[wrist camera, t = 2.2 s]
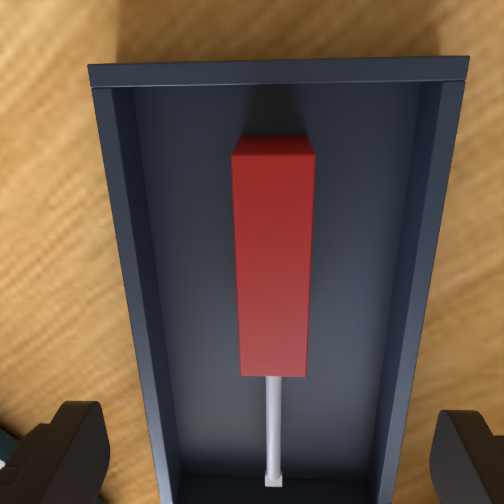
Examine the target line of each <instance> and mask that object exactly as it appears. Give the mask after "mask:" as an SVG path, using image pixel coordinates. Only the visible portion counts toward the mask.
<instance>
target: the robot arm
mask: <svg viewBox="0 0 504 504" xmlns="http://www.w3.org/2000/svg"><path fill="white" fill-rule="evenodd" d="M109 461H110V444H109V440H108V435H107V431H106V426H105V421H104V417H103V412H102V408H101V405H100V403H99V402H98V401H65V402H64V403H63V404H62V405H61V406H60V408H59V409H58V411H57V413H56V414H55V416H54V417H53V419H52V421H51V422H50V424H42V423H40V424H39V425H38V426H36V427H35V428H34V429H33V430H32V431H31V432H29V433H28V434H27V435H26V436H25V437H24V438H23V439H21V440H20V441H19V442H18V444H17V445H16V447H15V448H14V450H13V451H12V453H11V454H10V456H9V457H8V459H7V460H6V462H5V466H4V467H2V468H1V469H0V504H94V503H95V501H96V498H97V496H98V494H99V491H100V489H101V486H102V484H103V481H104V479H105V476H106V473H107V470H108V466H109ZM429 465H430V474H431V479H432V483H433V486H434V489H435V492H436V494H437V497H438V500H439V503H440V504H504V436H493V434H492V432H491V431H490V429H489V427H488V425H487V424H486V422H485V420H484V418H483V417H482V415H481V414H480V413H479V412H478V411H476V410H441V411H440V413H439V415H438V420H437V424H436V429H435V434H434V438H433V443H432V448H431V452H430V459H429Z"/></svg>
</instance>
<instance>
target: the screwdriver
mask: <svg viewBox="0 0 504 504" xmlns="http://www.w3.org/2000/svg"><path fill="white" fill-rule="evenodd" d="M315 162H316V155H315V152H314V150H313V147H312V144H311V142H310V139H309V136H308V135H246V136H240V138H239V140H238V142H237V144H236V146H235V149H234V151H233V153H232V155H231V167H232V191H233V215H234V239H235V263H236V287H237V311H238V335H239V359H240V374H241V376H266V449H267V471H265V486H270V487H282V471H281V378H282V377H306V375H307V356H308V331H309V307H310V283H311V259H312V234H313V210H314V186H315Z"/></svg>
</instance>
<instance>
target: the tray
mask: <svg viewBox="0 0 504 504" xmlns="http://www.w3.org/2000/svg"><path fill="white" fill-rule="evenodd" d="M469 60H470V56H401V57H358V58H314V59H270V60H227V61H183V62H139V63H105V64H88V65H87V67H88V73H89V79H90V85H91V87H92V96H93V102H94V108H95V114H96V120H97V126H98V132H99V138H100V144H101V150H102V156H103V162H104V168H105V173H106V179H107V185H108V191H109V197H110V203H111V209H112V215H113V221H114V227H115V233H116V239H117V245H118V251H119V257H120V263H121V269H122V275H123V281H124V287H125V293H126V299H127V305H128V311H129V317H130V323H131V329H132V335H133V341H134V347H135V352H136V358H137V364H138V370H139V376H140V382H141V388H142V394H143V400H144V406H145V412H146V418H147V424H148V430H149V436H150V442H151V448H152V454H153V460H154V466H155V472H156V478H157V484H158V490H159V496H160V502H161V504H392V499H393V493H394V487H395V481H396V476H397V470H398V464H399V459H400V453H401V447H402V442H403V436H404V430H405V424H406V419H407V413H408V407H409V402H410V396H411V390H412V385H413V379H414V373H415V367H416V362H417V356H418V350H419V345H420V339H421V333H422V327H423V322H424V316H425V310H426V305H427V299H428V293H429V288H430V282H431V276H432V270H433V265H434V259H435V253H436V248H437V242H438V236H439V230H440V225H441V219H442V213H443V208H444V202H445V196H446V191H447V185H448V179H449V173H450V168H451V162H452V156H453V151H454V145H455V139H456V134H457V128H458V122H459V116H460V111H461V105H462V99H463V94H464V88H465V81H464V80H466V77H467V71H468V65H469ZM246 135H308V136H309V139H310V142H311V144H312V147H313V150H314V152H315V155H316V162H315V186H314V210H313V234H312V259H311V283H310V307H309V331H308V356H307V375H306V377H282V378H281V471H282V487H270V486H265V471H267V449H266V376H241V374H240V359H239V335H238V311H237V287H236V263H235V239H234V215H233V191H232V167H231V155H232V153H233V151H234V149H235V146H236V144H237V142H238V140H239V138H240V136H246Z"/></svg>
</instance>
